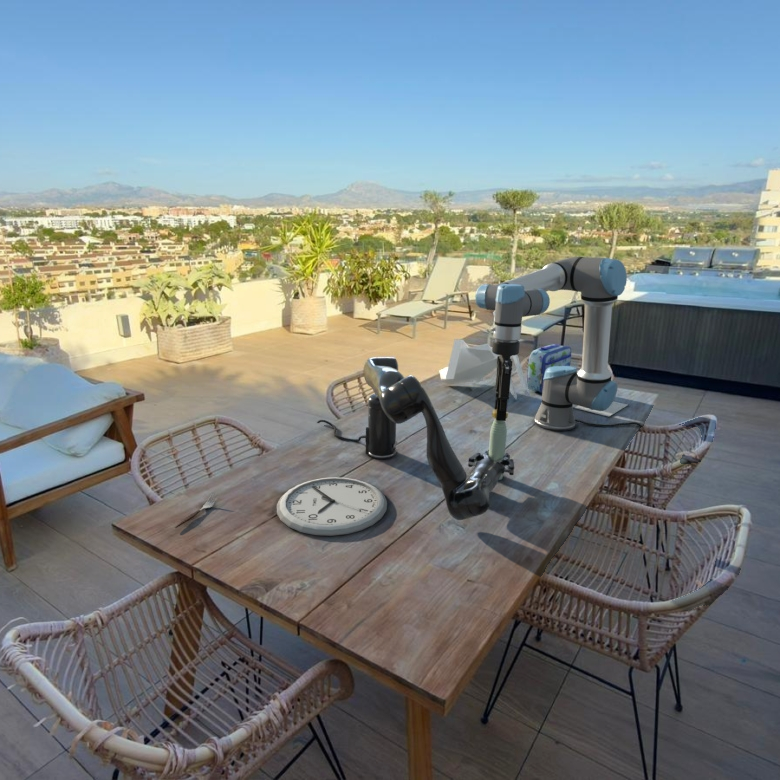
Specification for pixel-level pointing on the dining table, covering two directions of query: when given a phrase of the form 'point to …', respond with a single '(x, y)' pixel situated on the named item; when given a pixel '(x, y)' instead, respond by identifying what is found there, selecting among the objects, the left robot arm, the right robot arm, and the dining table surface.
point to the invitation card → (609, 411)
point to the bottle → (497, 441)
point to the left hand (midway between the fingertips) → (498, 454)
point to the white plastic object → (476, 365)
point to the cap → (496, 413)
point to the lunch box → (545, 363)
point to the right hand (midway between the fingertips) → (499, 416)
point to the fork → (206, 505)
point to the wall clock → (331, 506)
